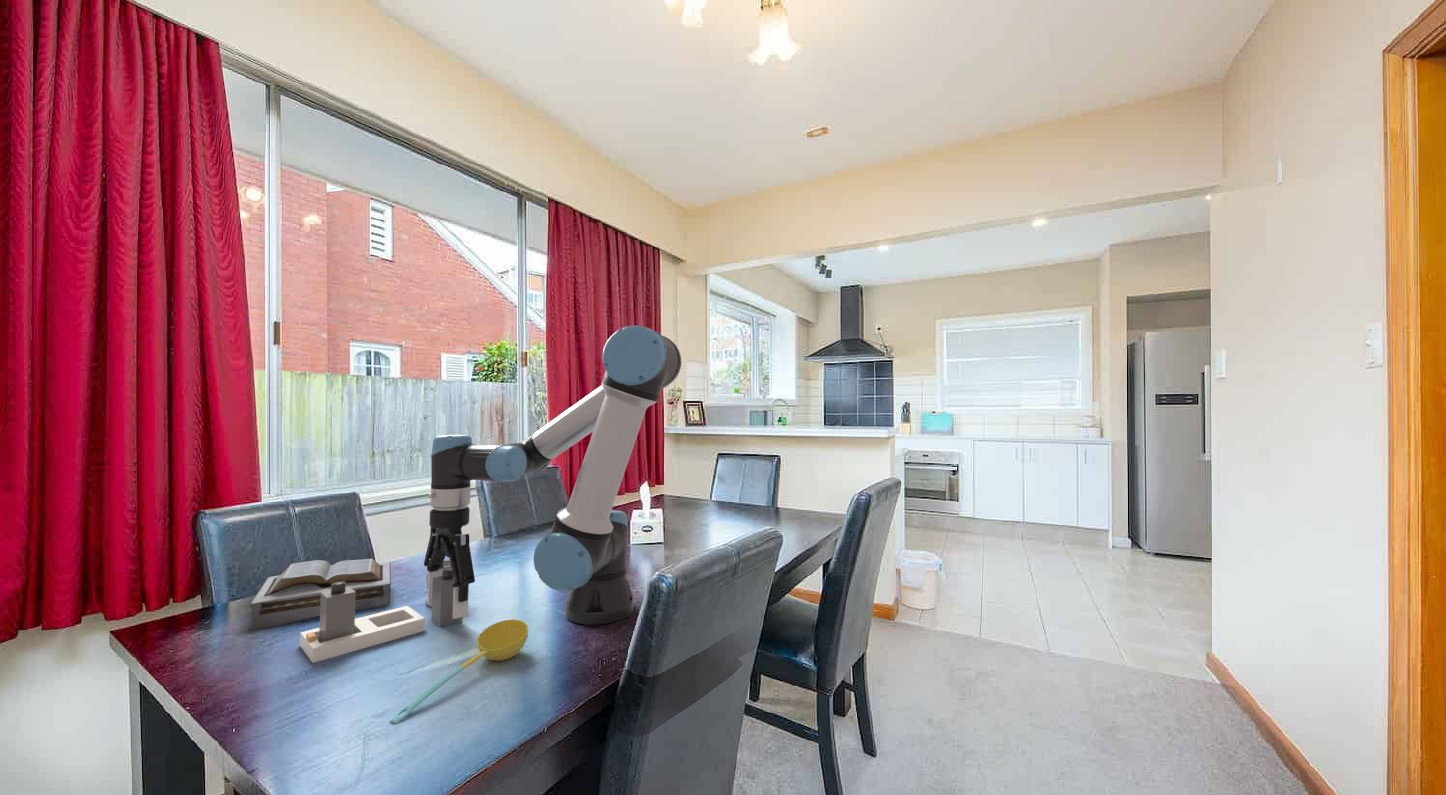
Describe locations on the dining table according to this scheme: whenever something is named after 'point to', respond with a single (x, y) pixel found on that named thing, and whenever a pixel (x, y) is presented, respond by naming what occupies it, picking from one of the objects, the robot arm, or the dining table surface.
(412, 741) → the dining table surface
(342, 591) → the twin plug
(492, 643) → the ladle
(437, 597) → the plug
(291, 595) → the bible
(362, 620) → the strip
